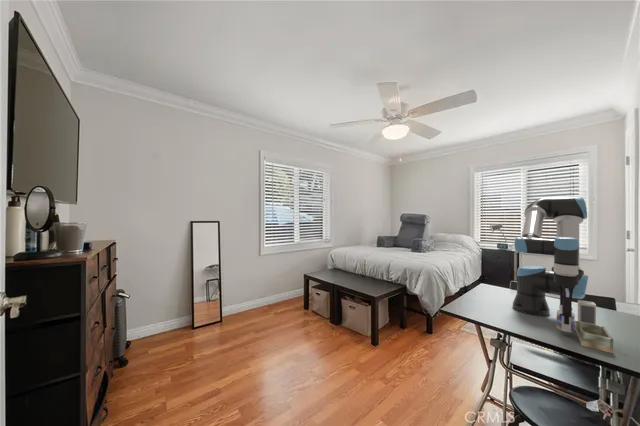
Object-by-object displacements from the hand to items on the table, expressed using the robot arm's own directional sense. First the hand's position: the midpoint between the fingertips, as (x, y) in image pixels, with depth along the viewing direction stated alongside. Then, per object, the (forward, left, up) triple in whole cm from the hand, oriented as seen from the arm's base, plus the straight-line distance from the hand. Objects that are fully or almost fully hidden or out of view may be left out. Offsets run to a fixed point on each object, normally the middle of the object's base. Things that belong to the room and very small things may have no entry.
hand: (565, 328), depth 107 cm
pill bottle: (0, 0, -1) cm, 1 cm away
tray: (+8, +4, -3) cm, 9 cm away
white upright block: (+8, +13, -1) cm, 15 cm away
